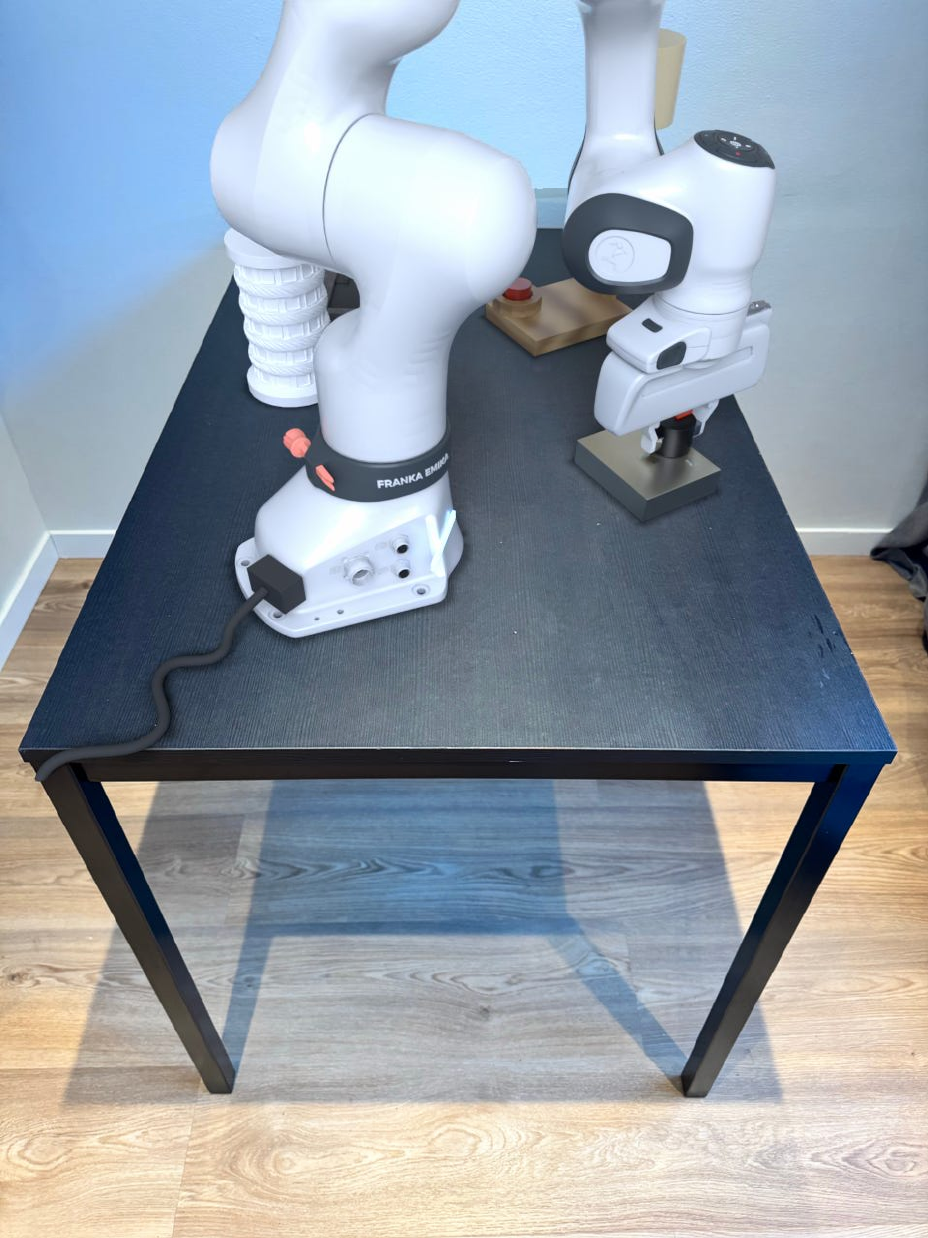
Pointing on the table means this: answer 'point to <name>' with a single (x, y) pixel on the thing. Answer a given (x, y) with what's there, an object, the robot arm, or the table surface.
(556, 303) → the lamp base
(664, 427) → the dimmer knob
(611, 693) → the table surface
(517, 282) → the lamp switch
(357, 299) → the picture frame
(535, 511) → the table surface
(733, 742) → the table surface
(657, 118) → the lamp
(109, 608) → the table surface
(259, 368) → the decorative container
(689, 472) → the block
